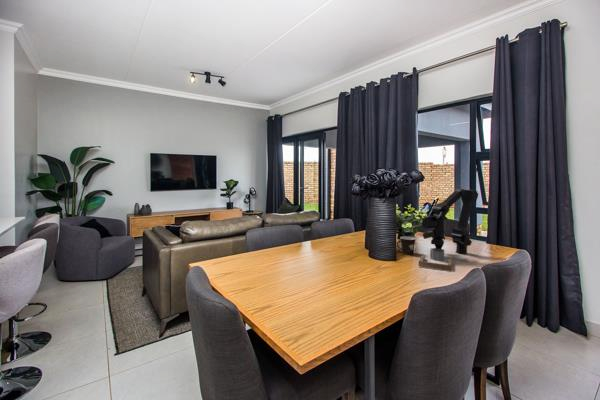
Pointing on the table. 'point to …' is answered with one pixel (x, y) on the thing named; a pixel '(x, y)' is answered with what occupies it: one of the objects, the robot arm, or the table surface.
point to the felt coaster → (459, 259)
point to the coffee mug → (407, 245)
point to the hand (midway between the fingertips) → (437, 253)
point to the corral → (435, 264)
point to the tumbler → (437, 254)
